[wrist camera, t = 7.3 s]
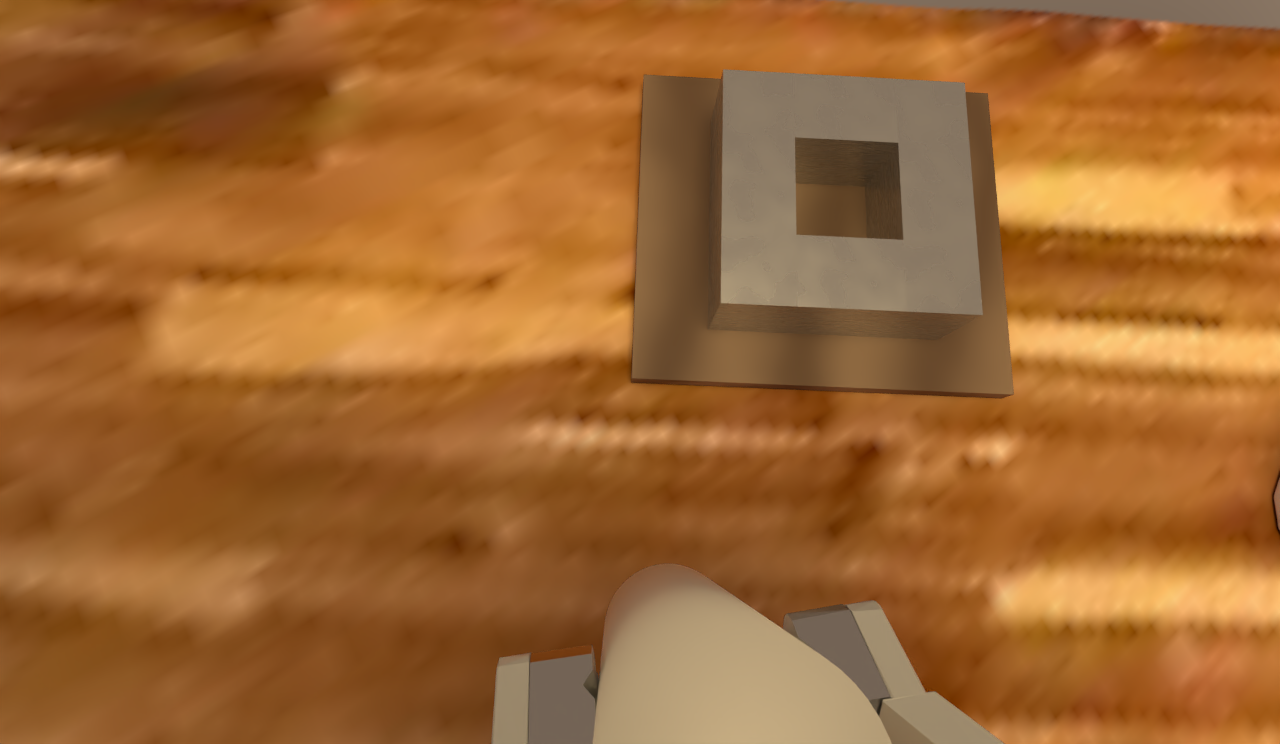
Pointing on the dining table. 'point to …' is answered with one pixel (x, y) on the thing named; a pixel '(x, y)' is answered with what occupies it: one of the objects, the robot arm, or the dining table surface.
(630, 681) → the pin
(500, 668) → the robot arm
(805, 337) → the base board
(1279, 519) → the white cup
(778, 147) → the ring collar
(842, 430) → the dining table surface
